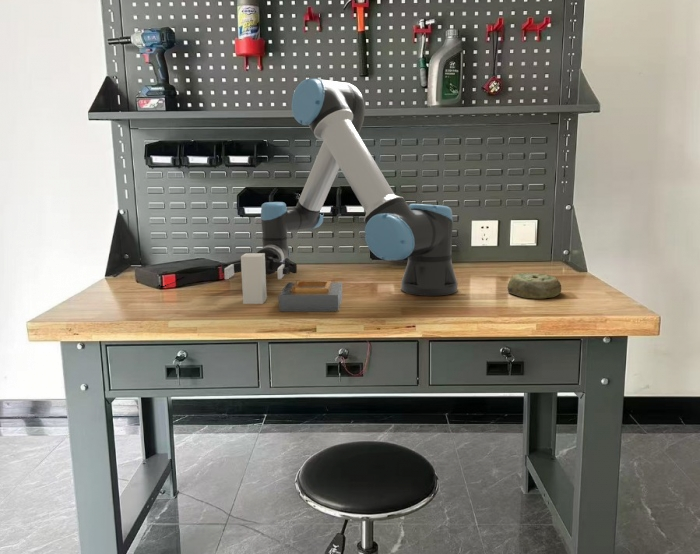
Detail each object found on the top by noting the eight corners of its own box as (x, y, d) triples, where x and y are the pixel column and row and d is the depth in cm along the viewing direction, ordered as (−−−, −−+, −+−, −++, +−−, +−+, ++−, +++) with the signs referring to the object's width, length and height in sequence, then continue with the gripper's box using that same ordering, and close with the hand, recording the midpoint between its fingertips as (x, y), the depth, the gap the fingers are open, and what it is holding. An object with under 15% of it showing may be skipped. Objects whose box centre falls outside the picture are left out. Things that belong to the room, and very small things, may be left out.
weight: (563, 301, 148) (564, 281, 147) (507, 299, 152) (508, 279, 151) (558, 289, 161) (559, 271, 160) (507, 287, 165) (507, 270, 164)
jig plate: (342, 297, 155) (342, 278, 154) (338, 311, 141) (337, 290, 140) (288, 297, 155) (288, 278, 154) (279, 311, 142) (278, 290, 141)
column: (266, 299, 154) (264, 253, 152) (262, 303, 149) (260, 256, 147) (247, 299, 155) (245, 253, 152) (243, 303, 150) (240, 256, 147)
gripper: (312, 272, 172) (301, 288, 151) (227, 272, 174) (205, 288, 153) (311, 246, 170) (300, 259, 150) (225, 247, 172) (203, 259, 151)
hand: (252, 274), depth 151 cm, fingers open, 13 cm apart
